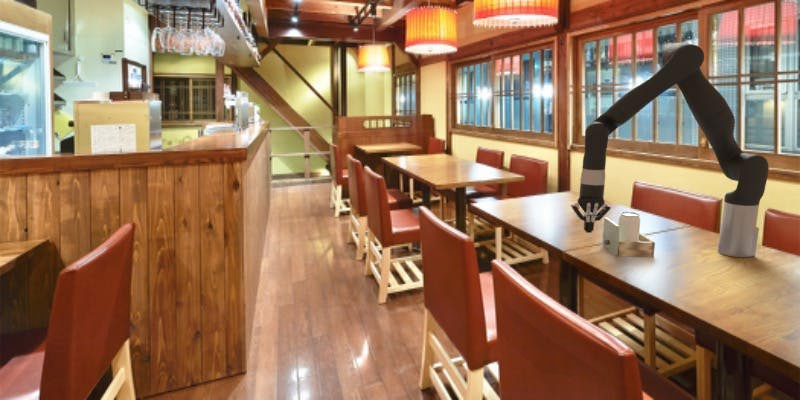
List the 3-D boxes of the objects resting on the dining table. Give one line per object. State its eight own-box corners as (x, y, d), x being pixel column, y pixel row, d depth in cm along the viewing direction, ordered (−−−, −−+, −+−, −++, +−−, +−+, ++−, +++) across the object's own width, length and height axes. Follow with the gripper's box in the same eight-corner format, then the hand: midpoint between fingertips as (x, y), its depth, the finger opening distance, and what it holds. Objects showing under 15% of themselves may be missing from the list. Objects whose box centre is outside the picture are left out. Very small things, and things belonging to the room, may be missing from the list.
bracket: (634, 244, 162) (636, 217, 160) (649, 255, 150) (652, 226, 148) (598, 244, 163) (600, 217, 161) (610, 255, 151) (612, 226, 149)
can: (612, 246, 158) (615, 212, 156) (627, 244, 160) (630, 211, 158) (626, 251, 152) (629, 216, 150) (642, 249, 154) (645, 215, 151)
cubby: (637, 245, 162) (638, 231, 161) (653, 257, 149) (655, 242, 148) (605, 245, 163) (606, 231, 162) (618, 256, 151) (620, 242, 150)
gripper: (575, 183, 150) (571, 234, 153) (617, 184, 148) (612, 235, 152) (569, 180, 157) (565, 228, 161) (609, 180, 156) (604, 229, 159)
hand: (588, 232), depth 156 cm, fingers closed
